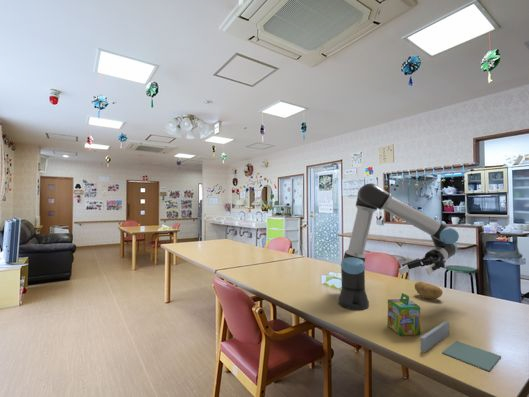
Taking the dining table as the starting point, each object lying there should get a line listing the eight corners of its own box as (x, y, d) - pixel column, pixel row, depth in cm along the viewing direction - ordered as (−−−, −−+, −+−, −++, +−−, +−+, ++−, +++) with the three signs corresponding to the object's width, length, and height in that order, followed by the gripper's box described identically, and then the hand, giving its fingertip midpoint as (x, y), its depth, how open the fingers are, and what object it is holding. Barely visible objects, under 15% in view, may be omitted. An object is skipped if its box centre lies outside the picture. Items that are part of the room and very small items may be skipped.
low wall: (420, 351, 95) (420, 337, 95) (445, 332, 108) (445, 320, 108) (424, 352, 94) (424, 338, 94) (449, 334, 107) (448, 321, 107)
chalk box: (387, 326, 115) (386, 291, 115) (407, 324, 116) (406, 290, 116) (399, 336, 106) (399, 299, 106) (421, 335, 107) (420, 298, 107)
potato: (436, 304, 139) (436, 288, 139) (411, 296, 151) (410, 281, 151) (447, 300, 143) (446, 285, 143) (421, 293, 156) (421, 279, 156)
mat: (442, 353, 94) (442, 352, 94) (456, 341, 101) (456, 340, 101) (489, 371, 83) (489, 370, 83) (500, 357, 91) (500, 356, 91)
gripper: (466, 262, 123) (444, 279, 113) (415, 265, 145) (392, 279, 134) (459, 246, 124) (437, 262, 113) (410, 251, 145) (387, 265, 135)
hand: (413, 271), depth 124 cm, fingers open, 13 cm apart
